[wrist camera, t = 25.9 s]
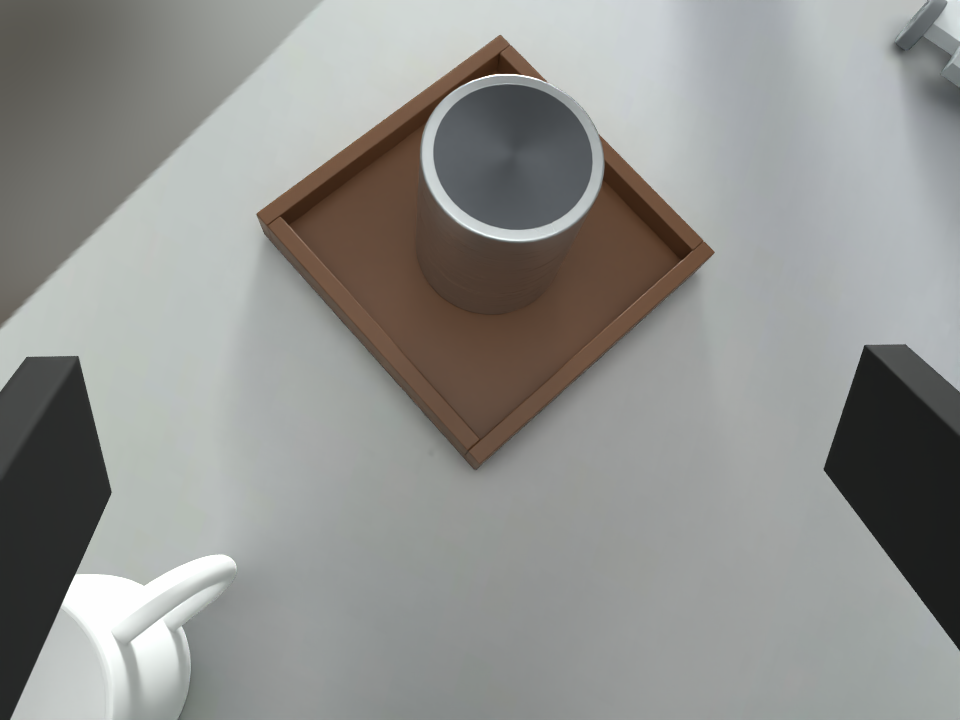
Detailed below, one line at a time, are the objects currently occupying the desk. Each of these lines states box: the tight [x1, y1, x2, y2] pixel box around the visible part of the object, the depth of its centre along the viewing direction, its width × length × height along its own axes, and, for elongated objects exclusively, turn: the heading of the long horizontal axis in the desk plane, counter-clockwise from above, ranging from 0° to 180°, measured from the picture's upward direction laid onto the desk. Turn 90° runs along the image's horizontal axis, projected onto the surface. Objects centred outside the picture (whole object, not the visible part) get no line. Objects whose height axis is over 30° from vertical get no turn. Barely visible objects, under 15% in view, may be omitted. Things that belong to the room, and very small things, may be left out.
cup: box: [10, 555, 237, 720], centre depth 29 cm, size 8×12×10 cm
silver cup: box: [416, 74, 604, 314], centre depth 35 cm, size 7×7×9 cm
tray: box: [257, 35, 715, 470], centre depth 39 cm, size 16×16×2 cm
